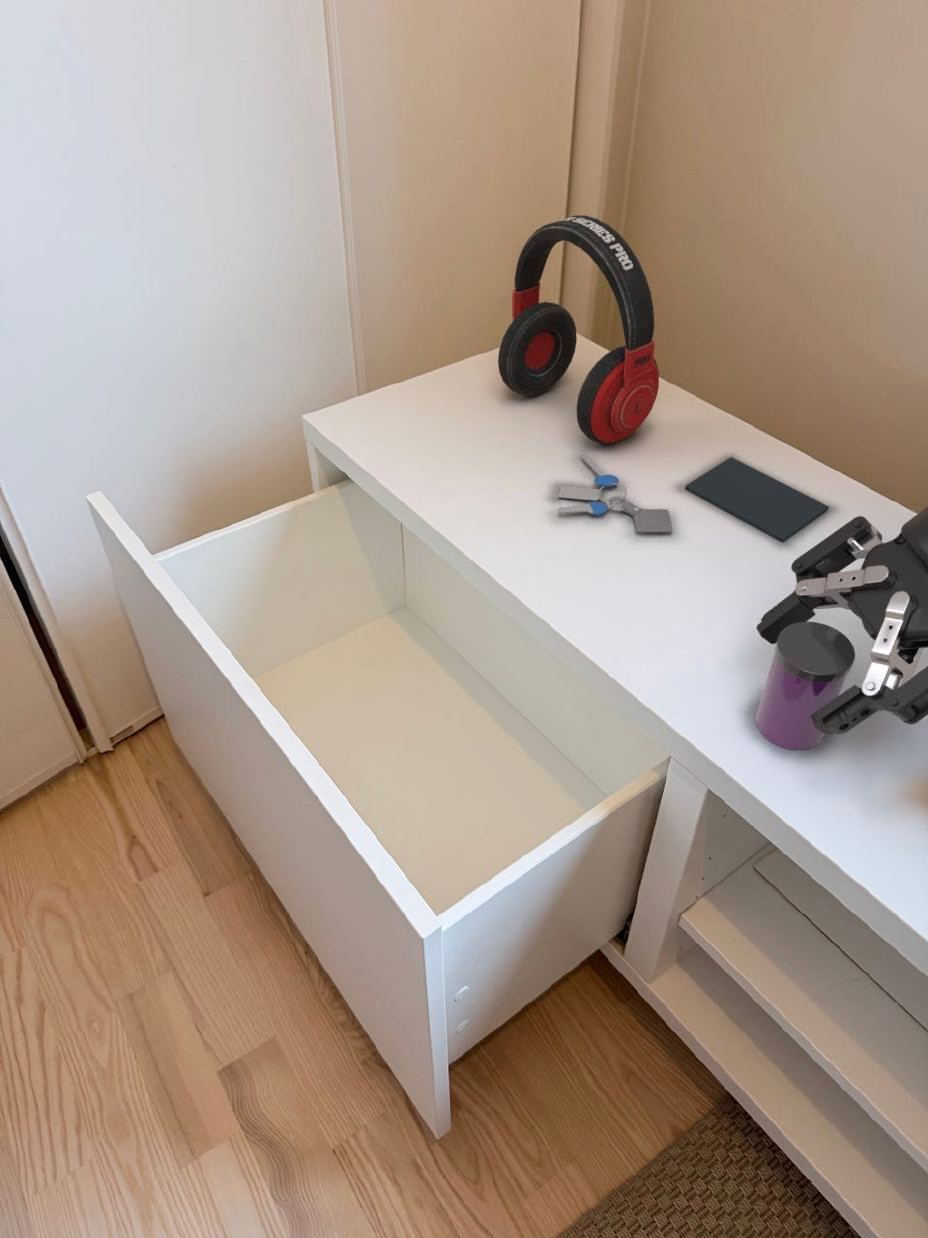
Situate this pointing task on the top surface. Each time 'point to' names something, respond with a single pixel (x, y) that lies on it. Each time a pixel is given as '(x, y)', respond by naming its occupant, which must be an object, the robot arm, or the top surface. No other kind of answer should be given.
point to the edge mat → (757, 499)
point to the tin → (802, 682)
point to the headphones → (548, 336)
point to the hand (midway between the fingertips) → (789, 680)
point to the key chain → (643, 517)
